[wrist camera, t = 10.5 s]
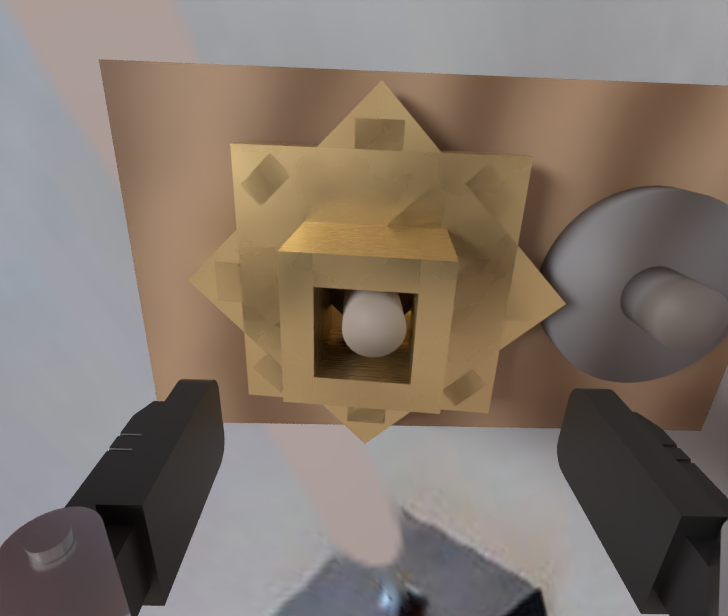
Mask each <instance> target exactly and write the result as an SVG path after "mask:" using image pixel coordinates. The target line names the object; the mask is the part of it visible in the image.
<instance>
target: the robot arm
mask: <svg viewBox="0 0 728 616" xmlns="http://www.w3.org/2000/svg"><path fill="white" fill-rule="evenodd" d="M223 452H224V428H223V419H222V411H221V402H220V393H219V386H218V383H217V381H216V380H207V379H180V380H179V381H178V382H177V384H176V385H175V387H174V388H173V390H172V391H171V393H170V394H169V395H168V397H167V398H166V400H165V401H153V402H152V403H150V404H149V405H148V406H146V407H145V408H143V409H142V410H140V411H139V412H138V413H136V414H135V415H133V417H132V418H131V419H130V421H129V422H128V423H127V425H126V426H125V427H124V429H123V430H122V431H121V434H120V436H118V437H117V438H116V439H115V441H114V442H113V443H112V445H111V446H110V450H109V451H106V453H105V454H104V455H103V457H102V458H101V459H100V461H99V462H98V463H97V465H96V466H95V467H94V469H93V470H92V471H91V473H90V474H89V475H88V477H87V478H86V480H85V481H84V482H83V484H82V485H81V486H80V488H79V489H78V490H77V492H76V493H75V494H74V496H73V497H72V498H71V500H70V501H69V502H68V504H67V505H66V506H65V508H61V509H57V510H53V511H51V512H48V513H45V514H43V515H41V516H38V517H36V518H35V519H33V520H31V521H29V522H27V523H26V524H25V525H23V526H22V527H20V528H19V529H18V530H16V531H15V532H14V533H13V534H12V535H11V536H10V537H9V538H8V539H7V540H6V541H5V542H4V543H3V544H2V546H1V547H0V616H138V614H139V612H140V609H141V607H142V605H151V606H165V603H166V601H167V598H168V596H169V593H170V591H171V588H172V586H173V583H174V580H175V578H176V575H177V573H178V570H179V568H180V565H181V563H182V560H183V558H184V555H185V553H186V550H187V548H188V545H189V543H190V540H191V538H192V535H193V533H194V530H195V528H196V525H197V523H198V520H199V518H200V515H201V513H202V510H203V507H204V505H205V502H206V500H207V497H208V495H209V492H210V490H211V487H212V485H213V482H214V480H215V477H216V475H217V472H218V470H219V467H220V465H221V461H222V458H223ZM557 456H558V462H559V466H560V469H561V471H562V473H563V475H564V477H565V478H566V480H567V482H568V484H569V486H570V487H571V489H572V491H573V493H574V494H575V496H576V498H577V500H578V502H579V503H580V505H581V507H582V509H583V511H584V512H585V514H586V516H587V518H588V520H589V521H590V523H591V525H592V527H593V529H594V530H595V532H596V534H597V536H598V538H599V539H600V541H601V543H602V545H603V546H604V548H605V550H606V552H607V554H608V555H609V557H610V559H611V561H612V563H613V564H614V566H615V568H616V570H617V572H618V573H619V575H620V577H621V579H622V581H623V582H624V584H625V586H626V588H627V589H628V591H629V593H630V595H631V597H632V598H633V600H634V602H635V604H636V606H637V607H638V609H639V611H640V613H641V614H669V616H728V498H727V497H726V496H725V495H724V494H723V493H722V492H721V491H720V490H719V489H718V488H717V487H716V486H715V485H714V484H713V483H712V481H711V480H710V479H709V478H708V477H707V476H706V475H705V474H704V473H703V472H702V471H701V470H700V469H699V468H698V467H697V466H696V465H695V464H694V463H691V459H690V458H689V457H688V456H687V455H686V454H685V453H684V452H683V451H682V450H681V449H680V448H677V446H676V443H675V442H674V441H673V440H672V439H671V438H670V437H669V436H668V435H667V434H666V433H665V432H664V431H663V430H662V429H661V428H660V427H659V426H658V425H656V424H654V423H653V422H651V421H650V420H648V419H647V418H645V417H644V416H642V415H640V414H639V413H637V412H632V411H631V410H630V408H629V407H628V406H627V405H626V404H625V403H624V402H623V401H622V400H621V398H620V397H619V396H618V395H617V394H616V393H615V392H614V391H613V390H611V389H587V388H576V389H574V390H572V392H571V393H570V396H569V399H568V403H567V407H566V411H565V415H564V419H563V423H562V428H561V432H560V436H559V440H558V445H557Z"/></svg>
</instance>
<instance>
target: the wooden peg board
mask: <svg viewBox="0 0 728 616" xmlns="http://www.w3.org/2000/svg"><path fill="white" fill-rule="evenodd" d="M99 63H100V69H101V74H102V80H103V86H104V92H105V98H106V104H107V109H108V115H109V121H110V127H111V133H112V139H113V144H114V150H115V156H116V161H117V168H118V174H119V180H120V185H121V191H122V197H123V203H124V209H125V215H126V220H127V226H128V232H129V238H130V244H131V250H132V255H133V261H134V267H135V273H136V279H137V285H138V291H139V296H140V302H141V308H142V314H143V320H144V326H145V331H146V337H147V343H148V349H149V355H150V361H151V366H152V372H153V378H154V384H155V390H156V396H157V401H165V400H166V398H167V397H168V395H169V394H170V393H171V391H172V390H173V388H174V387H175V385H176V384H177V382H178V381H179V380H180V379H207V380H216V381H217V383H218V386H219V393H220V402H221V411H222V419H223V422H224V423H287V424H288V423H289V424H343V423H342V422H341V421H340V420H339V419H338V418H337V417H336V416H334V415H333V414H332V413H331V412H330V411H329V410H328V409H327V408H326V407H325V406H324V405H319V404H307V403H294V402H283V397H275V396H262V395H249V390H248V376H247V363H246V349H245V336H244V332H243V331H242V330H241V329H240V328H239V327H238V326H237V325H236V324H235V323H234V322H233V321H231V320H230V319H229V318H228V317H227V316H226V315H225V314H224V313H223V312H222V311H221V310H220V309H218V308H217V307H216V306H215V305H214V304H213V303H212V302H211V301H210V300H209V299H208V298H207V297H205V296H204V295H203V294H202V293H201V292H200V291H199V290H198V289H197V288H196V287H195V286H194V285H192V284H191V283H190V282H189V281H188V279H189V278H190V277H191V276H192V275H193V274H194V273H195V272H196V271H197V270H198V269H199V267H200V266H201V265H202V264H203V263H204V262H205V261H206V260H207V259H208V258H209V257H210V256H211V255H212V254H213V253H214V252H215V251H216V250H217V249H218V248H219V247H220V246H221V245H222V244H223V243H224V242H225V241H226V240H227V239H228V238H229V237H230V236H231V235H232V234H233V233H234V232H235V230H236V215H235V202H234V188H233V175H232V162H231V148H230V143H236V142H241V141H243V142H266V143H288V144H310V145H319V144H320V143H321V142H322V141H323V140H324V139H325V138H326V137H327V136H328V135H329V134H330V133H331V132H332V131H333V130H334V129H335V128H336V127H337V126H338V125H339V124H340V123H341V122H342V121H343V120H344V118H345V117H346V116H347V115H348V114H349V113H350V112H351V111H352V110H353V109H354V108H355V107H356V106H357V105H358V104H359V103H360V102H361V101H362V100H363V99H364V98H365V97H366V96H367V95H368V94H369V93H370V92H371V91H372V90H373V89H374V88H375V87H376V86H377V85H378V84H379V83H380V81H381V80H382V81H383V82H384V83H385V84H386V85H387V87H388V88H389V89H390V90H391V91H392V93H393V94H394V95H395V96H396V98H397V99H398V100H399V101H400V102H401V104H402V105H403V106H404V107H405V109H406V110H407V111H408V112H409V113H410V115H411V116H412V117H413V118H414V119H415V121H416V122H417V123H418V124H419V126H420V127H421V128H422V129H423V130H424V132H425V133H426V134H427V135H428V137H429V138H430V139H431V140H432V141H433V143H434V144H435V145H436V146H437V147H438V149H439V150H444V151H467V152H489V153H512V154H526V155H529V156H532V157H533V162H532V167H531V173H530V179H529V185H528V190H527V196H526V202H525V207H524V213H523V219H522V225H521V230H520V236H519V242H518V246H519V247H520V249H521V250H522V251H523V252H524V253H525V255H526V256H527V257H528V258H529V259H530V261H531V262H532V263H533V264H534V266H535V267H536V268H537V269H538V270H539V272H540V273H541V274H542V275H543V277H544V278H545V279H546V280H547V281H548V283H549V284H550V285H551V286H552V287H553V289H554V290H555V291H556V292H557V294H558V295H559V296H560V297H561V298H562V300H563V301H564V302H565V303H566V304H565V305H564V306H563V307H561V308H560V309H558V310H557V311H555V312H554V313H552V314H551V315H550V316H548V317H547V318H545V319H544V320H542V321H541V322H539V323H538V324H537V325H535V326H534V327H532V328H531V329H529V330H528V331H526V332H525V333H524V334H522V335H521V336H519V337H518V338H516V339H515V340H513V341H512V342H511V343H509V344H508V345H506V346H505V347H503V348H502V349H501V350H499V356H498V362H497V367H496V373H495V379H494V384H493V390H492V396H491V402H490V407H489V413H479V412H466V411H453V410H440V414H433V413H420V412H410V413H408V414H407V415H405V416H404V417H402V418H401V419H400V420H398V421H397V422H395V423H394V424H392V425H402V426H461V427H520V428H562V423H563V419H564V415H565V411H566V407H567V403H568V399H569V396H570V393H571V392H572V390H574V389H576V388H587V389H611V390H613V391H614V392H615V393H616V394H617V395H618V396H619V397H620V398H621V400H622V401H623V402H624V403H625V404H626V405H627V406H628V407H629V408H630V410H631V411H632V412H637V413H639V414H640V415H642V416H644V417H645V418H647V419H648V420H650V421H651V422H653V423H654V424H656V425H658V426H659V427H660V428H661V429H662V430H697V431H701V429H702V426H703V424H704V421H705V419H706V416H707V414H708V411H709V409H710V406H711V404H712V401H713V399H714V396H715V394H716V392H717V389H718V387H719V384H720V382H721V379H722V377H723V374H724V372H725V369H726V367H727V364H728V86H719V85H695V84H672V83H648V82H624V81H600V80H576V79H553V78H529V77H505V76H481V75H457V74H433V73H410V72H386V71H362V70H338V69H314V68H290V67H267V66H243V65H219V64H195V63H170V62H147V61H145V62H144V61H124V60H99ZM336 293H337V294H338V295H339V296H340V297H341V298H342V299H343V300H344V302H343V320H342V334H343V337H344V340H345V342H346V344H347V345H348V346H349V347H350V348H351V349H352V350H353V351H354V352H356V353H357V354H360V355H362V356H366V357H382V356H385V355H388V354H390V353H392V352H393V351H395V350H396V349H397V348H398V347H399V346H400V345H401V343H402V342H403V340H404V338H405V335H406V321H405V317H404V313H403V309H402V304H404V303H405V302H406V301H407V300H409V299H410V298H411V293H400V292H385V291H369V290H353V289H338V288H336Z"/></svg>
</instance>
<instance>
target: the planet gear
mask: <svg viewBox="0 0 728 616" xmlns="http://www.w3.org/2000/svg"><path fill="white" fill-rule="evenodd" d="M230 148H231V162H232V175H233V188H234V202H235V215H236V230H235V232H234V233H233V234H232V235H231V236H230V237H229V238H228V239H227V240H226V241H225V242H224V243H223V244H222V245H221V246H220V247H219V248H218V249H217V250H216V251H215V252H214V253H213V254H212V255H211V256H210V257H209V258H208V259H207V260H206V261H205V262H204V263H203V264H202V265H201V266H200V267H199V269H198V270H197V271H196V272H195V273H194V274H193V275H192V276H191V277H190V278H189V279H188V281H189V282H190V283H191V284H192V285H194V286H195V287H196V288H197V289H198V290H199V291H200V292H201V293H202V294H203V295H204V296H205V297H207V298H208V299H209V300H210V301H211V302H212V303H213V304H214V305H215V306H216V307H217V308H218V309H220V310H221V311H222V312H223V313H224V314H225V315H226V316H227V317H228V318H229V319H230V320H231V321H233V322H234V323H235V324H236V325H237V326H238V327H239V328H240V329H241V330H242V331H243V332H244V336H245V349H246V363H247V376H248V390H249V395H262V396H275V397H283V402H294V403H307V404H319V405H324V406H325V407H326V408H327V409H328V410H329V411H330V412H331V413H332V414H333V415H334V416H336V417H337V418H338V419H339V420H340V421H341V422H342V423H343V424H344V425H345V426H346V427H347V428H349V429H350V430H351V431H352V432H353V433H354V434H355V435H356V436H357V437H358V438H359V439H360V440H362V441H363V442H364V443H366V442H368V441H369V440H371V439H372V438H374V437H375V436H377V435H378V434H379V433H381V432H382V431H384V430H385V429H387V428H388V427H390V426H391V425H392V424H394V423H395V422H397V421H398V420H400V419H401V418H402V417H404V416H405V415H407V414H408V413H410V412H420V413H433V414H440V410H453V411H466V412H479V413H489V407H490V402H491V396H492V390H493V384H494V379H495V373H496V367H497V362H498V356H499V350H501V349H502V348H503V347H505V346H506V345H508V344H509V343H511V342H512V341H513V340H515V339H516V338H518V337H519V336H521V335H522V334H524V333H525V332H526V331H528V330H529V329H531V328H532V327H534V326H535V325H537V324H538V323H539V322H541V321H542V320H544V319H545V318H547V317H548V316H550V315H551V314H552V313H554V312H555V311H557V310H558V309H560V308H561V307H563V306H564V305H565V304H566V303H565V302H564V301H563V300H562V298H561V297H560V296H559V295H558V294H557V292H556V291H555V290H554V289H553V287H552V286H551V285H550V284H549V283H548V281H547V280H546V279H545V278H544V277H543V275H542V274H541V273H540V272H539V270H538V269H537V268H536V267H535V266H534V264H533V263H532V262H531V261H530V259H529V258H528V257H527V256H526V255H525V253H524V252H523V251H522V250H521V249H520V247H519V246H518V242H519V236H520V230H521V225H522V219H523V213H524V207H525V202H526V196H527V190H528V185H529V179H530V173H531V167H532V162H533V157H532V156H529V155H526V154H512V153H489V152H467V151H444V150H439V149H438V147H437V146H436V145H435V144H434V143H433V141H432V140H431V139H430V138H429V137H428V135H427V134H426V133H425V132H424V130H423V129H422V128H421V127H420V126H419V124H418V123H417V122H416V121H415V119H414V118H413V117H412V116H411V115H410V113H409V112H408V111H407V110H406V109H405V107H404V106H403V105H402V104H401V102H400V101H399V100H398V99H397V98H396V96H395V95H394V94H393V93H392V91H391V90H390V89H389V88H388V87H387V85H386V84H385V83H384V82H383V81H382V80H381V81H380V83H379V84H378V85H377V86H376V87H375V88H374V89H373V90H372V91H371V92H370V93H369V94H368V95H367V96H366V97H365V98H364V99H363V100H362V101H361V102H360V103H359V104H358V105H357V106H356V107H355V108H354V109H353V110H352V111H351V112H350V113H349V114H348V115H347V116H346V117H345V118H344V120H343V121H342V122H341V123H340V124H339V125H338V126H337V127H336V128H335V129H334V130H333V131H332V132H331V133H330V134H329V135H328V136H327V137H326V138H325V139H324V140H323V141H322V142H321V143H320V144H319V145H310V144H288V143H266V142H243V141H241V142H236V143H230ZM336 288H338V289H353V290H369V291H385V292H400V293H411V298H410V299H409V300H407V301H406V302H405V303H404V304H402V309H403V313H404V317H405V321H406V335H405V338H404V340H403V342H402V343H401V345H400V346H399V347H398V348H397V349H396V350H395V351H393V352H392V353H390V354H388V355H385V356H382V357H366V356H362V355H360V354H357V353H356V352H354V351H353V350H352V349H351V348H350V347H349V346H348V345H347V344H346V342H345V340H344V337H343V334H342V320H343V302H344V300H343V299H342V298H341V297H340V296H339V295H338V294H337V293H336Z"/></svg>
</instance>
